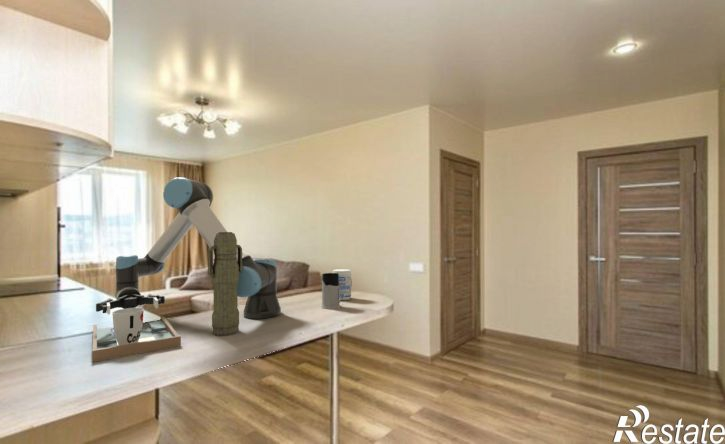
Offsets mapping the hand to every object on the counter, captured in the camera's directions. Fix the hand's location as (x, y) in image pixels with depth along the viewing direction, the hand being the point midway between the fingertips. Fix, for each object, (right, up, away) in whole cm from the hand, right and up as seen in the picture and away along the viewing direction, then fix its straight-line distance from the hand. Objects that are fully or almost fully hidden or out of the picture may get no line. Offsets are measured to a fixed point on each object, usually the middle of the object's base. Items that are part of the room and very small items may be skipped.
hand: (133, 307), depth 121 cm
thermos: (+28, -10, +6) cm, 31 cm away
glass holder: (+64, -11, +46) cm, 80 cm away
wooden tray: (0, -10, 0) cm, 11 cm away
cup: (+4, -9, -9) cm, 13 cm away
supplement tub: (+65, -11, +64) cm, 92 cm away
